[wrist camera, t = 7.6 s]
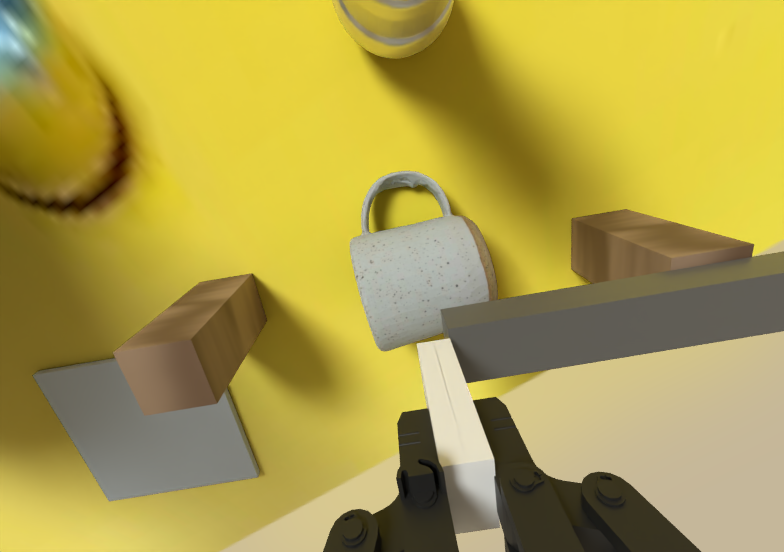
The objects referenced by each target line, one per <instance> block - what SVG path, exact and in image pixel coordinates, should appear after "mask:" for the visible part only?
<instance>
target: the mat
mask: <svg viewBox="0 0 784 552" xmlns="http://www.w3.org/2000/svg"><path fill="white" fill-rule="evenodd" d="M32 376H33V377H34V379H35V381H36V382H37V384H38V386H39V387H40V389H41V390H42V392H43V394H44V395H45V397H46V399H47V400H48V402H49V404H50V405H51V407H52V409H53V410H54V412H55V413H56V415H57V417H58V418H59V420H60V422H61V423H62V425H63V427H64V428H65V430H66V432H67V433H68V435H69V436H70V438H71V440H72V441H73V443H74V445H75V446H76V448H77V450H78V451H79V453H80V454H81V456H82V458H83V459H84V461H85V463H86V464H87V466H88V468H89V469H90V471H91V473H92V474H93V476H94V477H95V479H96V481H97V482H98V484H99V486H100V487H101V489H102V491H103V492H104V494H105V496H106V497H107V499H108V500H109V501H114V500H120V499H127V498H133V497H139V496H145V495H151V494H158V493H164V492H170V491H176V490H182V489H189V488H195V487H201V486H207V485H213V484H219V483H226V482H232V481H238V480H244V479H250V478H257V477H258V476H259V473H260V471H259V468H258V465H257V463H256V460H255V458H254V455H253V453H252V450H251V448H250V445H249V442H248V440H247V437H246V435H245V432H244V430H243V427H242V425H241V422H240V419H239V417H238V414H237V412H236V409H235V407H234V404H233V402H232V399H231V396H230V394H229V391H228V389H227V388H226V390H225V392H224V393H223V395H222V397H221V398H220V400H219V402H218V403H217V404H213V405H207V406H201V407H195V408H189V409H183V410H177V411H171V412H165V413H159V414H153V415H147V416H144V414H143V412H142V410H141V408H140V406H139V404H138V402H137V400H136V398H135V396H134V394H133V392H132V390H131V388H130V386H129V384H128V382H127V380H126V378H125V376H124V374H123V372H122V370H121V368H120V366H119V364H118V362H117V360H116V358H112V359H106V360H100V361H94V362H88V363H82V364H76V365H70V366H64V367H58V368H53V369H47V370H41V371H38V372H36V373H35V374H33V375H32Z"/></svg>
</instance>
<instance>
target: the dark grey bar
mask: <svg viewBox="0 0 784 552" xmlns="http://www.w3.org/2000/svg"><path fill="white" fill-rule="evenodd" d="M440 311H441V318H442V326H443V333H444V339H449V338H450V340H451V343H452V346H453V348H454V351H455V354H456V356H457V359H458V362H459V365H460V367H461V370H462V373H463V375H464V378H465V381H466V383H471V382H477V381H483V380H489V379H495V378H501V377H507V376H513V375H519V374H526V373H532V372H538V371H544V370H550V369H556V368H562V367H568V366H574V365H580V364H586V363H592V362H598V361H605V360H610V359H617V358H623V357H629V356H634V355H641V354H647V353H653V352H659V351H665V350H671V349H677V348H684V347H689V346H695V345H702V344H708V343H713V342H720V341H725V340H732V339H738V338H744V337H750V336H756V335H763V334H769V333H775V332H781V331H784V252H778V253H772V254H766V255H760V256H754V257H749V258H743V259H737V260H731V261H725V262H719V263H713V264H707V265H701V266H695V267H689V268H683V269H677V270H671V271H665V272H659V273H653V274H648V275H642V276H636V277H630V278H624V279H618V280H612V281H606V282H600V283H594V284H588V285H582V286H576V287H570V288H564V289H558V290H552V291H547V292H541V293H535V294H529V295H523V296H517V297H511V298H505V299H499V300H493V301H487V302H481V303H475V304H469V305H463V306H457V307H451V308H446V309H440Z"/></svg>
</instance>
